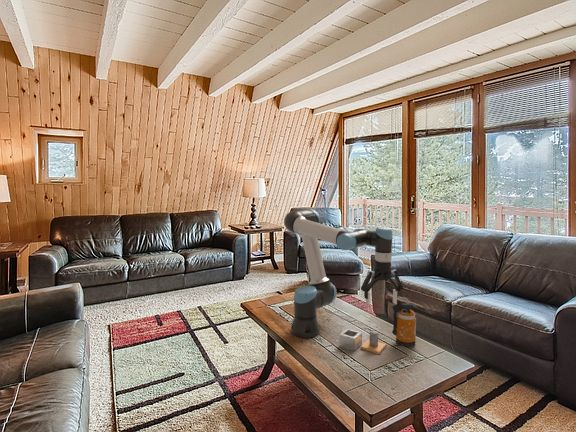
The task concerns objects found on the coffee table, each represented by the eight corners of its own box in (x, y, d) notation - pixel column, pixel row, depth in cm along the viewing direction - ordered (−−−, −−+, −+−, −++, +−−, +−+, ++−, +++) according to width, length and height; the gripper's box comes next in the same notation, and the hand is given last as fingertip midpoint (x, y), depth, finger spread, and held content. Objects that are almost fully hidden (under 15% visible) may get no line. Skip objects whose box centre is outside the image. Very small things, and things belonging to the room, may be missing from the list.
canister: (416, 348, 163) (418, 307, 161) (392, 346, 165) (393, 305, 163) (413, 339, 172) (415, 300, 170) (390, 337, 174) (391, 299, 172)
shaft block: (360, 348, 163) (361, 333, 162) (368, 341, 170) (368, 326, 169) (379, 354, 158) (379, 338, 157) (386, 346, 165) (386, 331, 164)
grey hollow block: (339, 346, 166) (339, 334, 165) (346, 339, 172) (346, 328, 171) (354, 350, 161) (355, 338, 160) (361, 344, 167) (362, 332, 167)
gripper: (360, 263, 155) (359, 308, 157) (411, 261, 159) (409, 305, 161) (354, 259, 162) (353, 302, 165) (403, 257, 166) (401, 299, 169)
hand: (381, 304), depth 163 cm, fingers open, 13 cm apart
